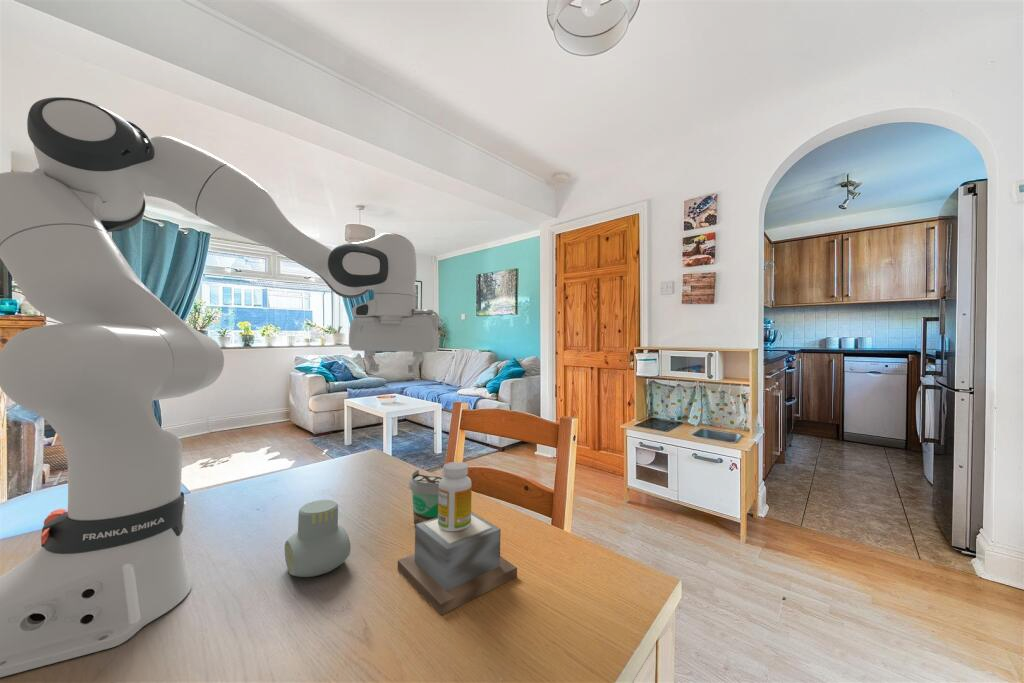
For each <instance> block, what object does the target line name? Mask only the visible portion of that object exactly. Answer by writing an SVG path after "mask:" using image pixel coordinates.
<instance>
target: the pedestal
mask: <svg viewBox="0 0 1024 683" xmlns="http://www.w3.org/2000/svg"><path fill="white" fill-rule="evenodd" d="M414 527H415V528H414V530H415V532H414V553H413V554H411V555H407V556H405V557H403V558H400V559H397V571H398V572H400V574H401V575H403V577H404V578H405V579H406V580H407V582H409V583H410V584H411V585H412V586H413V587H414V588H415V590H416V591H417V592H418V593H420V595H421V596H422V597H423V599H425V600H426V601H427V603H429V605H430V606H432V608H433V609H434V610H435V611H436V612H437V613H438V614H439V615H440V616H442V615H444V614H446V613H449V612H450V611H452V610H455V609H456V608H458V607H460V606H462V605H464V604H466V603H468V602H470V601H472V600H474V599H476V598H478V597H479V596H482V595H484V594H486V593H488V592H490V591H493V590H494V589H496V588H497V587H498V588H499V587H500V586H501V585H505V584H506V583H508V582H510V581H512V580H514V579H516V578H518V567H517V566H516V565H514V564H513V563H511V562H510V561H508V560H507V559H505V558H504V557H502V556H501V531H502V530H501V528H500V527H498V526H496V525H494V524H493V523H492V522H490V521H488V520H486V519H484V518H482V517H481V516H479V515H478V514H476V513H474V512H473V511H471V524H470V526H469V527H468V528H466V529H464V530H461V531H455V532H449V531H444V530H442V529H441V528H440V527H439V526H438V517H437V518H434V519H431V520H428V521H424V522H421V523H418V524H415V526H414Z"/></svg>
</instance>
